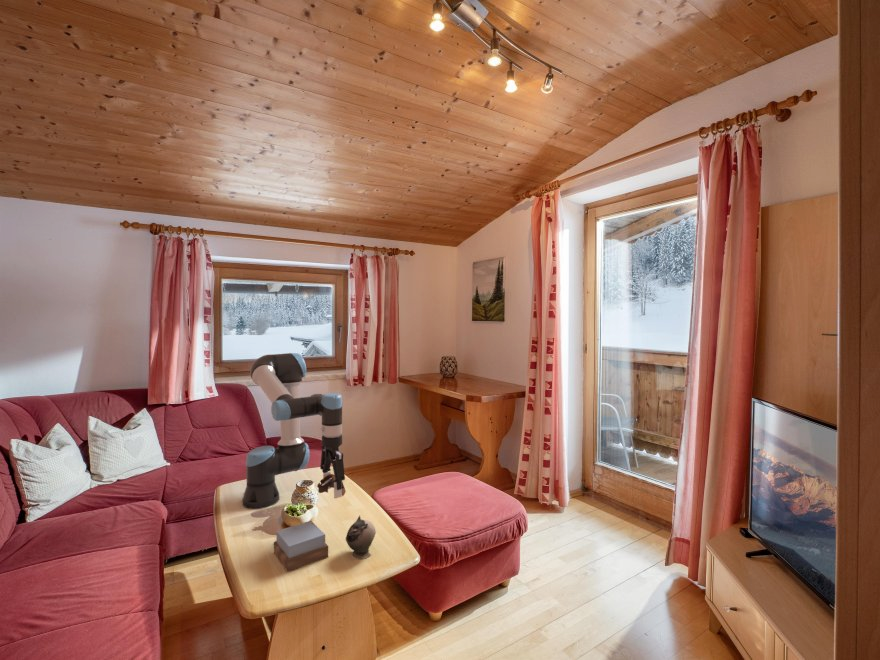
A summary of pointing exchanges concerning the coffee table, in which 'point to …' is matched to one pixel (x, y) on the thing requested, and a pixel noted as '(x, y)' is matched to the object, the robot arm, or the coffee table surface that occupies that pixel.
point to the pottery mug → (328, 484)
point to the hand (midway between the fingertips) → (332, 493)
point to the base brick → (300, 557)
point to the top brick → (300, 539)
